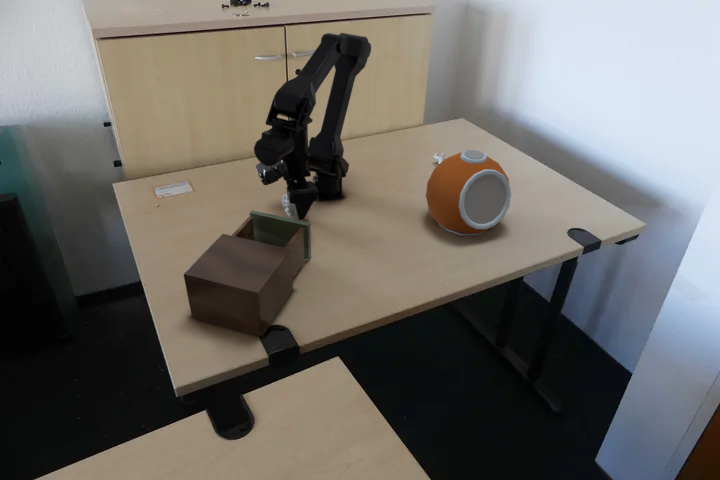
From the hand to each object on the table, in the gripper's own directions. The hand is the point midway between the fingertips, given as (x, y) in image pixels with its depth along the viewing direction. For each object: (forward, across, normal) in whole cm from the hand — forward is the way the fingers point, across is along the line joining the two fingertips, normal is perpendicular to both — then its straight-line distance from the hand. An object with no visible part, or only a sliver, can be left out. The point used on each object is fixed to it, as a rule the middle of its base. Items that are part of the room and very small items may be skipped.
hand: (297, 209), depth 125 cm
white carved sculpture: (+3, 0, 0) cm, 3 cm away
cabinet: (+3, +27, -16) cm, 31 cm away
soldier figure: (+3, -14, +44) cm, 46 cm away
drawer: (+2, +16, -8) cm, 18 cm away
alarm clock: (+3, +10, +38) cm, 39 cm away
